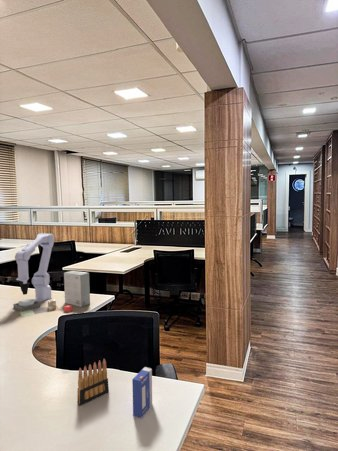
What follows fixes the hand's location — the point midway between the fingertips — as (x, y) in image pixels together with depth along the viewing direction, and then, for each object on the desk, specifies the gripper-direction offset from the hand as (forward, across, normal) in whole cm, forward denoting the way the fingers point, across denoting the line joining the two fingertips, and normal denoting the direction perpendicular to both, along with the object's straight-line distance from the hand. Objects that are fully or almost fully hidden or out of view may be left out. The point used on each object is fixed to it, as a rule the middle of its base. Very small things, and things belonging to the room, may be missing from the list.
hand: (24, 292), depth 197 cm
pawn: (+9, +11, +14) cm, 20 cm away
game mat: (+9, +11, +7) cm, 16 cm away
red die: (+9, +21, +21) cm, 31 cm away
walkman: (+9, +124, +20) cm, 126 cm away
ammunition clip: (+9, +110, +8) cm, 111 cm away
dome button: (+8, 0, +1) cm, 8 cm away
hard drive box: (+10, +9, +30) cm, 32 cm away
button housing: (+9, 0, +1) cm, 9 cm away
